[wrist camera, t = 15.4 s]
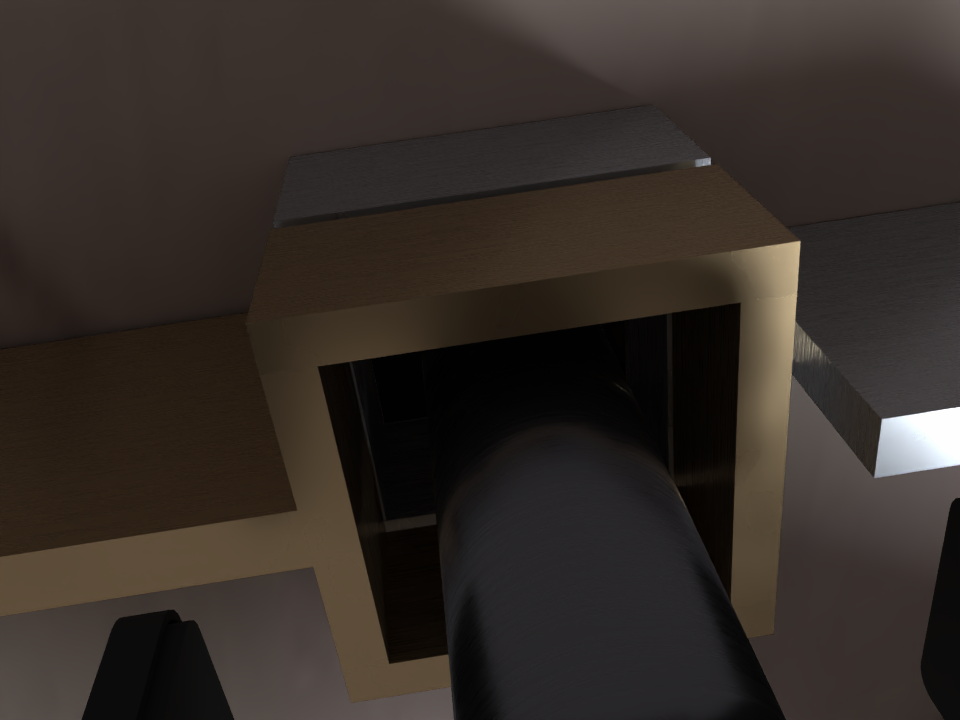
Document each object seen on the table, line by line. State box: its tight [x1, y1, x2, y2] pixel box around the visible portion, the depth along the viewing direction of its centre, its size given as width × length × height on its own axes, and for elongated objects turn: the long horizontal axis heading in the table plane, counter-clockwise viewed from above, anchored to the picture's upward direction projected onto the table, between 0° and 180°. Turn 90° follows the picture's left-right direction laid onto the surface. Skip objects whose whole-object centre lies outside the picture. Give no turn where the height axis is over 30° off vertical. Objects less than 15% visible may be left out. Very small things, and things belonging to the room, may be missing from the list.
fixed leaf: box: [273, 105, 960, 532], centre depth 15 cm, size 16×7×6 cm, turn 97°
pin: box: [421, 324, 786, 720], centre depth 13 cm, size 3×3×11 cm
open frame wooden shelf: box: [0, 164, 801, 703], centre depth 15 cm, size 16×7×6 cm, turn 97°
